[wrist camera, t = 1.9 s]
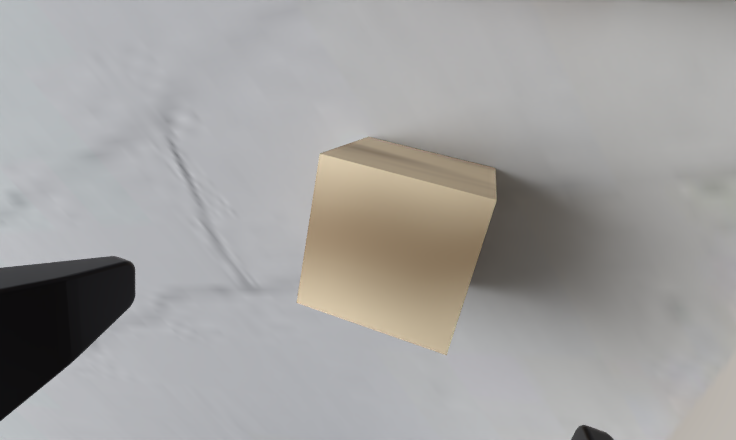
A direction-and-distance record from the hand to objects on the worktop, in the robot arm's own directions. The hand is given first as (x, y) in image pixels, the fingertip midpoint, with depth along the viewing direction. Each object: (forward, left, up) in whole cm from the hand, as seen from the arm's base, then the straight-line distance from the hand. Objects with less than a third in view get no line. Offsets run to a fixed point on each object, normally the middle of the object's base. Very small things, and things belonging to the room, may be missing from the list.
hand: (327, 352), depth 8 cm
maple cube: (0, 0, -10) cm, 10 cm away
